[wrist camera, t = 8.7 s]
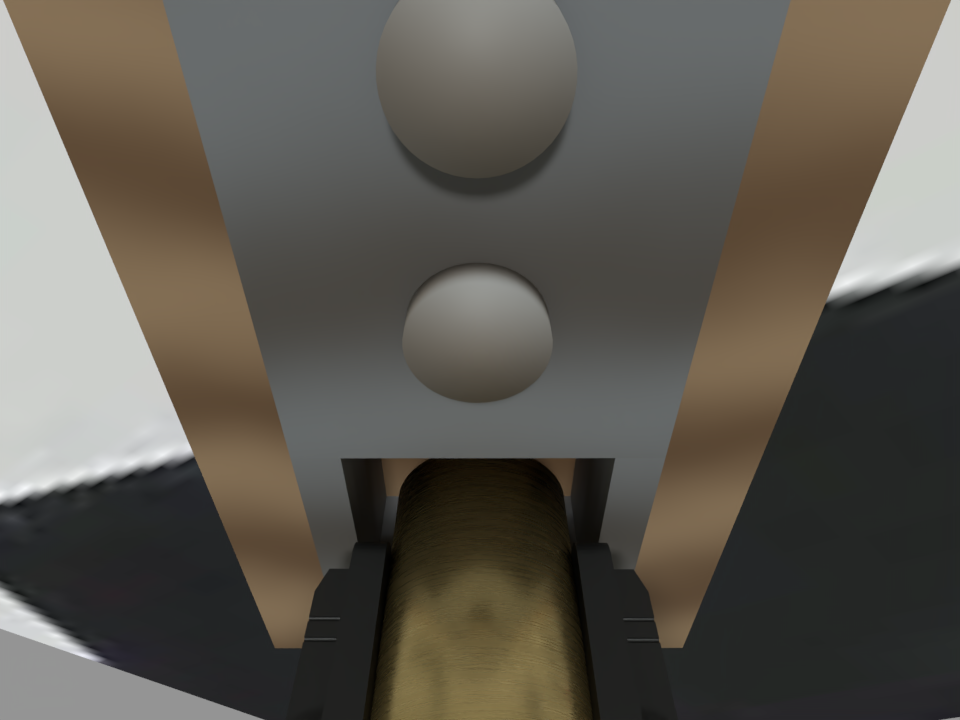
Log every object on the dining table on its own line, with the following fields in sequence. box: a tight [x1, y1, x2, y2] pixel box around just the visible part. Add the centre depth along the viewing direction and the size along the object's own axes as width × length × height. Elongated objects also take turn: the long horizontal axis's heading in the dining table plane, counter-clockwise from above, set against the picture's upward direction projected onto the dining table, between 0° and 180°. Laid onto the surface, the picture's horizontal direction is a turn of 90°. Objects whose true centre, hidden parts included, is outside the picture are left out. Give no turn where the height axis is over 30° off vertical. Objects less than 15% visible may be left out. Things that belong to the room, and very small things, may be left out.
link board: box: [3, 0, 951, 648], centre depth 16 cm, size 24×16×5 cm, turn 0°
